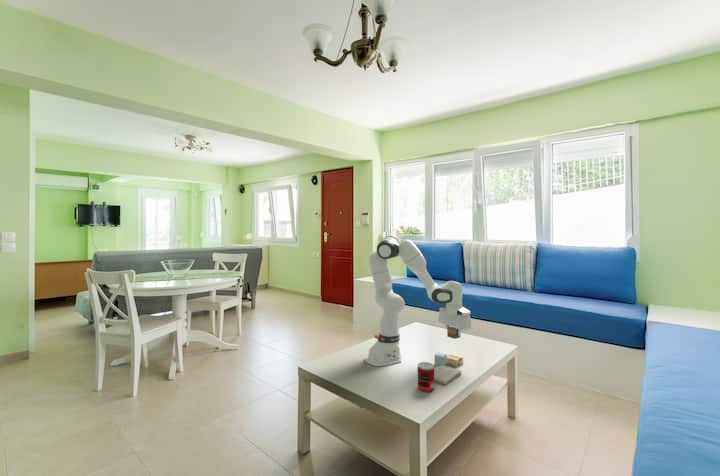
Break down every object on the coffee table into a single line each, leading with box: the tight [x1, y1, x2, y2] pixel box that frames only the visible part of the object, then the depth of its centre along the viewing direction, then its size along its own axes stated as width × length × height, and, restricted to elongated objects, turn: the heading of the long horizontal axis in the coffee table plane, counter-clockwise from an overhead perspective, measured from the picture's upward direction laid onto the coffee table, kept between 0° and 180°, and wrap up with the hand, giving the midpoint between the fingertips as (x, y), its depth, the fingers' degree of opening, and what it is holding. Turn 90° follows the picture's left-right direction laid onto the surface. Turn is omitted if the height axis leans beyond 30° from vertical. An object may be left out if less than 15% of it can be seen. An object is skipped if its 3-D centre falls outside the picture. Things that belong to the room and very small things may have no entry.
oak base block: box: [447, 353, 464, 368], centre depth 180 cm, size 7×7×4 cm
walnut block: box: [446, 326, 461, 339], centre depth 180 cm, size 5×5×5 cm
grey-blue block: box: [434, 351, 448, 367], centre depth 177 cm, size 5×5×6 cm
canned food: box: [417, 361, 435, 393], centre depth 150 cm, size 8×8×11 cm
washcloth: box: [434, 365, 462, 386], centre depth 163 cm, size 12×18×3 cm, turn 138°
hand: (453, 334), depth 180 cm, fingers closed on walnut block, 5 cm apart
